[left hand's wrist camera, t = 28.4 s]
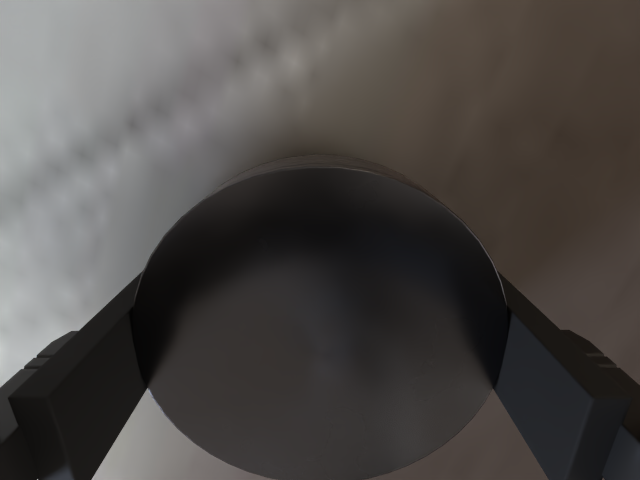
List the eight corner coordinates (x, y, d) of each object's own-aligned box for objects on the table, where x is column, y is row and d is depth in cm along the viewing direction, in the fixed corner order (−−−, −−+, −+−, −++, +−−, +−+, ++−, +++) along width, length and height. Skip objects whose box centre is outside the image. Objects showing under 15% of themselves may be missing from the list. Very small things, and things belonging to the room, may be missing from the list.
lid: (528, 196, 11) (576, 216, 9) (421, 449, 14) (437, 504, 12) (175, 117, 10) (139, 120, 8) (153, 405, 13) (125, 457, 11)
